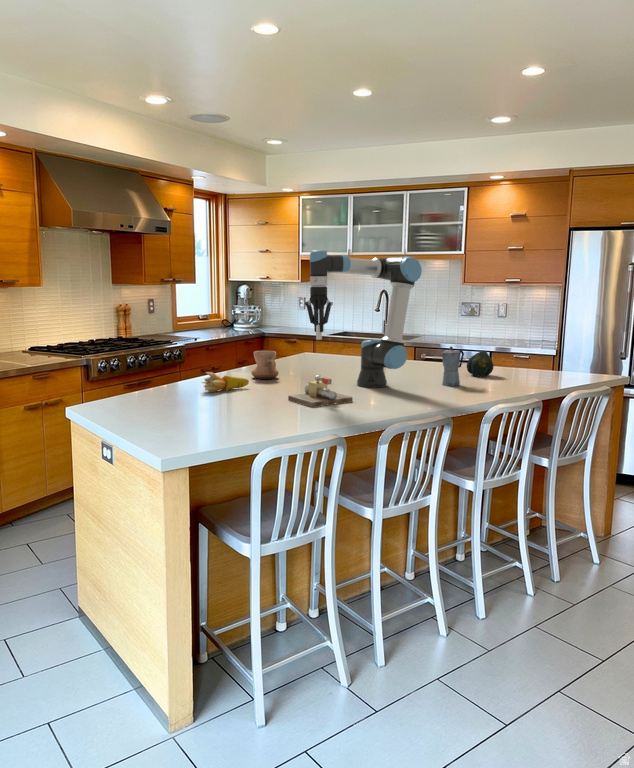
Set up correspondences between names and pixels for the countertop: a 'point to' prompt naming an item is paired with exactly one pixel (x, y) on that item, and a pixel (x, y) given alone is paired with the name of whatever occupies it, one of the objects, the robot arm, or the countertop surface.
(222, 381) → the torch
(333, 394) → the valve pipe
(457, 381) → the moka pot
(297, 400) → the mounting board
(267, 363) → the ceramic jug
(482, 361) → the squash
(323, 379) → the valve lever
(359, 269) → the robot arm
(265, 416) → the countertop surface
